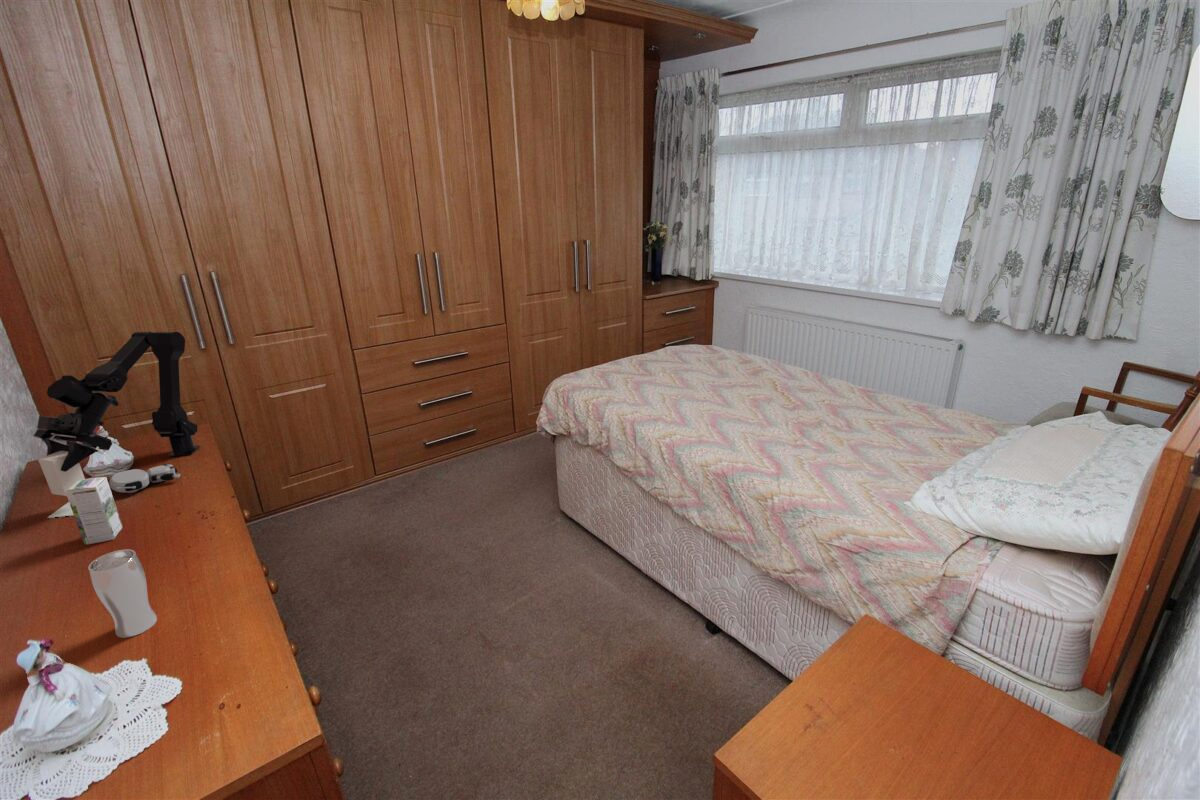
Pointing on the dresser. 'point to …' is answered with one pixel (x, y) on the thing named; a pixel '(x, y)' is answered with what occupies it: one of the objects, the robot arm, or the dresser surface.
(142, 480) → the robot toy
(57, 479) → the cream block
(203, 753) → the dresser surface
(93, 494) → the syrup box
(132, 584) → the beer glass
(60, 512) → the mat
